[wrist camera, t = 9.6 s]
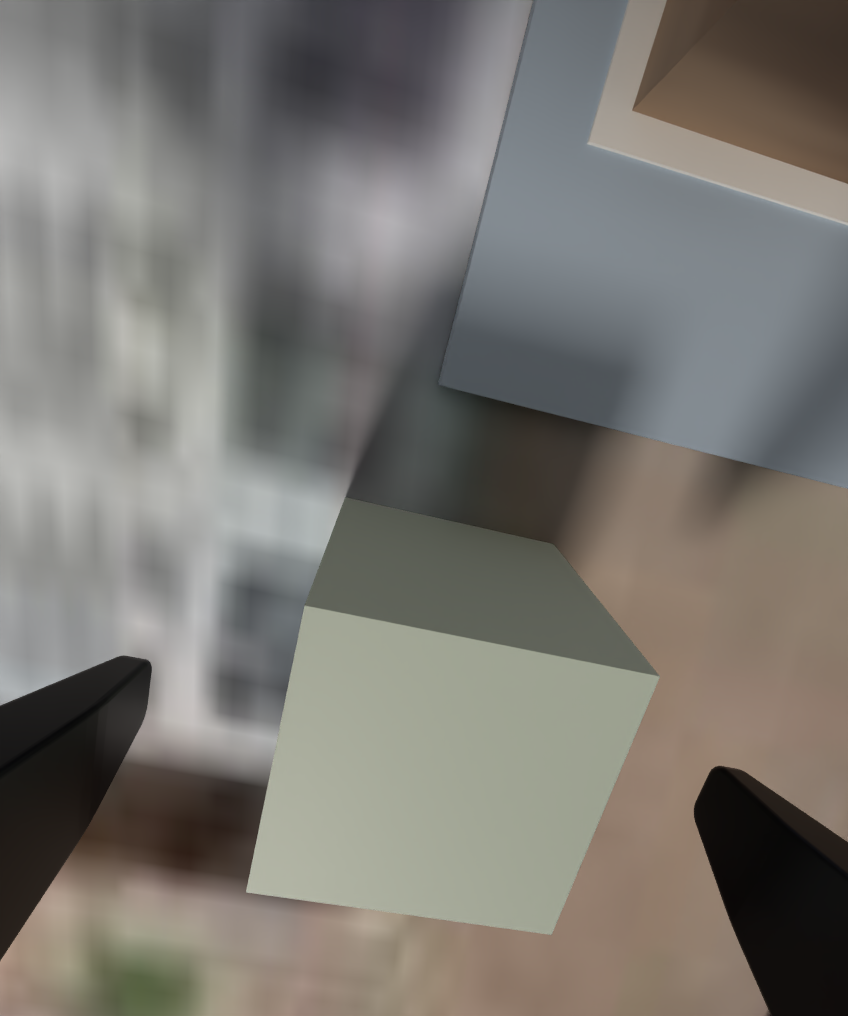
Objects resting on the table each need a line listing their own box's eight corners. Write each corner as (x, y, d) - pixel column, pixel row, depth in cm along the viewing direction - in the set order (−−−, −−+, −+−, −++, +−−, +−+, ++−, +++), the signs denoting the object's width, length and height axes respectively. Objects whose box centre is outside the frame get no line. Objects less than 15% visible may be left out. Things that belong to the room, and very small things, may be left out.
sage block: (552, 543, 12) (659, 676, 7) (495, 717, 13) (551, 934, 8) (345, 496, 11) (304, 605, 6) (306, 682, 12) (245, 892, 8)
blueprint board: (1241, -221, 8) (1315, -271, 8) (883, 496, 12) (914, 505, 11) (654, -488, 7) (679, -572, 7) (437, 383, 10) (440, 385, 10)
